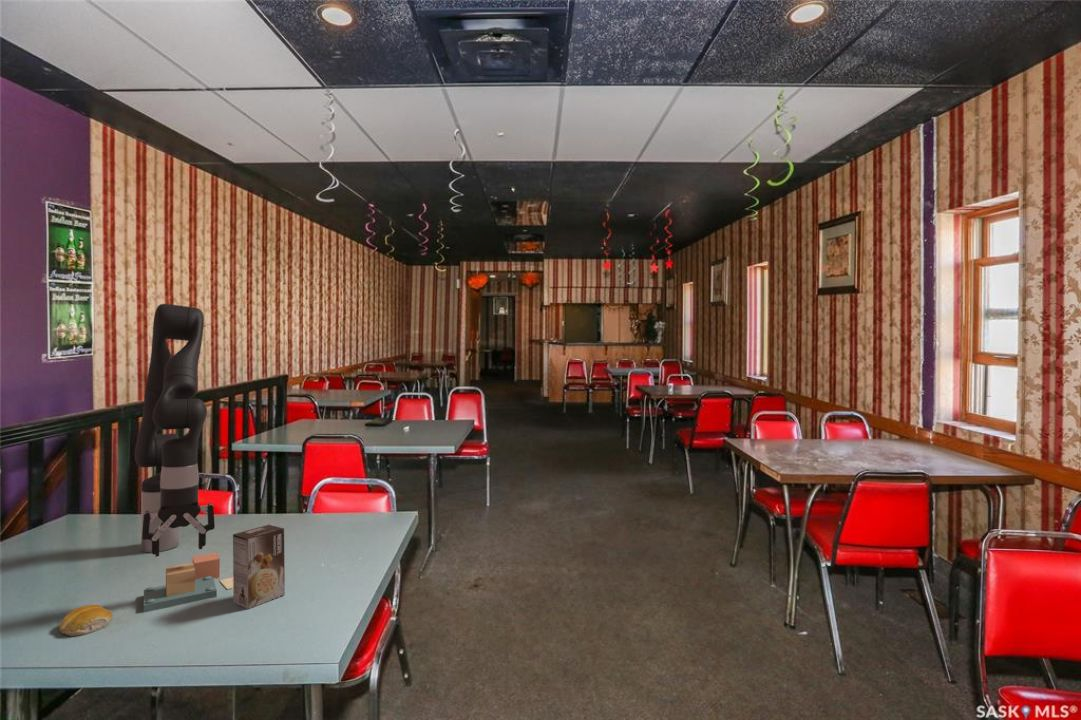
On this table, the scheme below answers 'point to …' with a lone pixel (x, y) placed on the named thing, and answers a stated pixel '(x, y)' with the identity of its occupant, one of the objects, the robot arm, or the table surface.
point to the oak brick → (180, 579)
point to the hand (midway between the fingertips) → (179, 551)
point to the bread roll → (85, 620)
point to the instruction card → (227, 583)
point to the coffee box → (258, 566)
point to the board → (159, 599)
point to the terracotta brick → (207, 565)
